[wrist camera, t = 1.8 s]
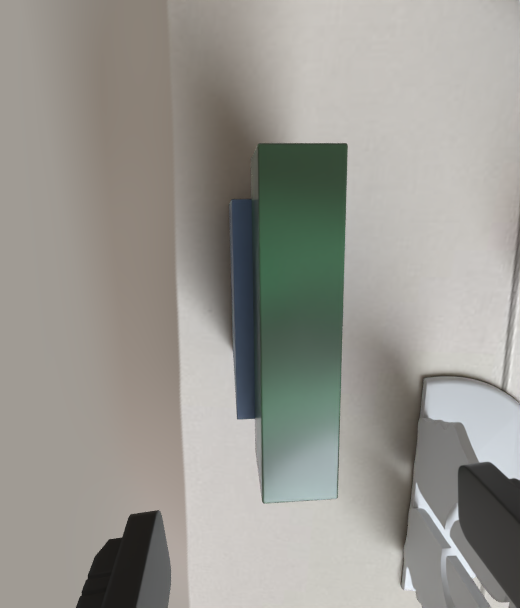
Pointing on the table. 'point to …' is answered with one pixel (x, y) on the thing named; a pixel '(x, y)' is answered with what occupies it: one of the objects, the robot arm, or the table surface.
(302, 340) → the green bar
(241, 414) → the riser block
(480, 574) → the ornament
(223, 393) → the table surface
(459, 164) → the table surface
